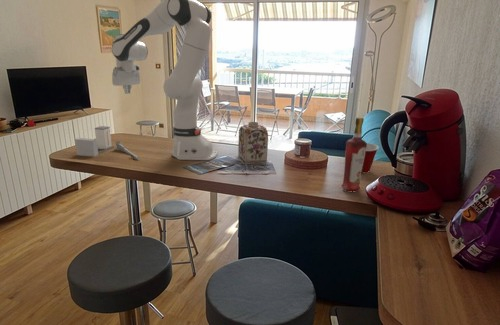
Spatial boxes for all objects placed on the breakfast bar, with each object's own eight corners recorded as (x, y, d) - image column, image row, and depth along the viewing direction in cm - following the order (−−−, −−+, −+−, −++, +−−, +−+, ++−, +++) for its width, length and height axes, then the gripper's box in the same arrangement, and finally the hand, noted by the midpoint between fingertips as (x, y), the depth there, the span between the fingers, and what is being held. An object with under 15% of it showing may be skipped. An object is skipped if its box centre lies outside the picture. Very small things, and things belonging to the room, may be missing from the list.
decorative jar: (244, 162, 155) (245, 125, 150) (237, 155, 166) (238, 120, 160) (268, 160, 159) (269, 124, 153) (259, 154, 169) (261, 119, 164)
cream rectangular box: (111, 146, 170) (109, 126, 167) (106, 149, 165) (103, 128, 162) (102, 146, 171) (100, 126, 168) (97, 148, 166) (94, 128, 163)
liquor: (350, 185, 131) (359, 115, 122) (364, 191, 125) (375, 119, 116) (336, 188, 127) (344, 116, 119) (350, 195, 121) (360, 120, 113)
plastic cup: (345, 171, 147) (348, 145, 144) (355, 165, 155) (359, 141, 151) (369, 177, 141) (373, 150, 137) (378, 171, 148) (382, 145, 145)
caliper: (116, 152, 166) (114, 140, 164) (118, 151, 167) (117, 139, 165) (138, 160, 154) (137, 148, 152) (140, 160, 155) (139, 147, 153)
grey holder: (120, 149, 170) (118, 132, 167) (99, 159, 153) (97, 140, 151) (95, 147, 172) (93, 130, 170) (72, 157, 155) (70, 138, 153)
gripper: (118, 67, 163) (121, 95, 167) (141, 67, 182) (143, 92, 186) (107, 66, 164) (110, 94, 168) (131, 67, 183) (133, 92, 187)
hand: (127, 93), depth 177 cm, fingers closed
